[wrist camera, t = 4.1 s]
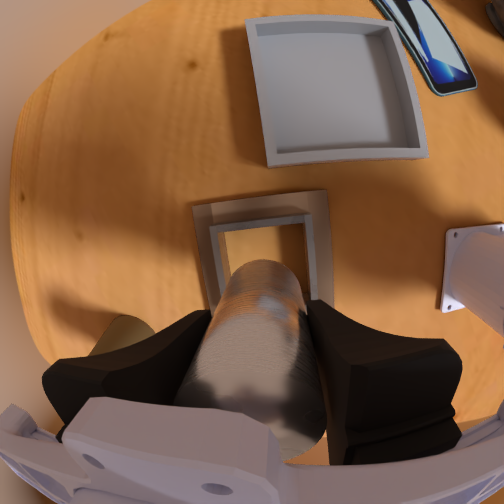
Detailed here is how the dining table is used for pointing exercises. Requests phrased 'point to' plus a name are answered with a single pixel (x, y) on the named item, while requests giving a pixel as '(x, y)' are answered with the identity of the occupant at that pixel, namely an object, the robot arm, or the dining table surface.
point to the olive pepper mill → (122, 334)
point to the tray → (334, 90)
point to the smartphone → (430, 45)
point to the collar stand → (264, 215)
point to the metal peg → (261, 358)
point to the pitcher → (496, 14)
